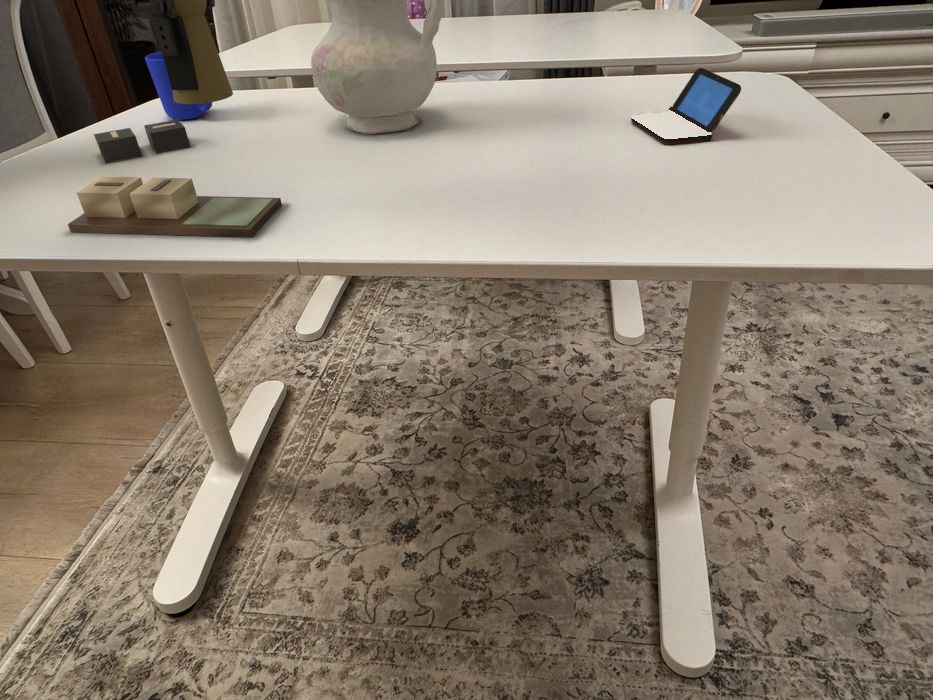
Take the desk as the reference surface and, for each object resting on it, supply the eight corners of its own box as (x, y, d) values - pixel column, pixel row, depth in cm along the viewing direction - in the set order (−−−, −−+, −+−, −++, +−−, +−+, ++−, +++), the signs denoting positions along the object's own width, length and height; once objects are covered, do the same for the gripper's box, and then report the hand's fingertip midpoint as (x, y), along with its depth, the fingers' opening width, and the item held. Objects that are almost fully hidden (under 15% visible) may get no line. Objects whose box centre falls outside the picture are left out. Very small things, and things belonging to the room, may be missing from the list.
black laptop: (627, 122, 101) (633, 71, 97) (691, 116, 103) (699, 66, 98) (663, 147, 91) (671, 91, 87) (733, 139, 93) (744, 85, 88)
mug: (198, 128, 106) (180, 63, 100) (153, 119, 112) (134, 57, 106) (237, 115, 112) (222, 53, 106) (192, 107, 117) (176, 47, 111)
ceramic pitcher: (464, 116, 111) (460, -55, 98) (440, 142, 94) (431, -59, 82) (344, 115, 114) (325, -51, 101) (301, 140, 98) (272, -53, 85)
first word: (101, 154, 97) (93, 133, 95) (183, 138, 102) (177, 118, 100) (105, 163, 93) (97, 141, 91) (190, 146, 98) (184, 126, 96)
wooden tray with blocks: (70, 232, 74) (56, 198, 71) (115, 201, 81) (103, 169, 79) (252, 237, 71) (243, 202, 68) (282, 205, 78) (275, 172, 76)
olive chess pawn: (208, 105, 65) (176, -19, 59) (161, 102, 67) (124, -19, 61) (244, 91, 70) (218, -26, 63) (199, 88, 72) (169, -26, 65)
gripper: (101, -230, 47) (192, 105, 60) (209, -202, 60) (263, 64, 74) (7, -223, 47) (117, 105, 61) (136, -197, 61) (202, 65, 75)
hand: (197, 82), depth 67 cm, fingers closed on olive chess pawn, 4 cm apart
